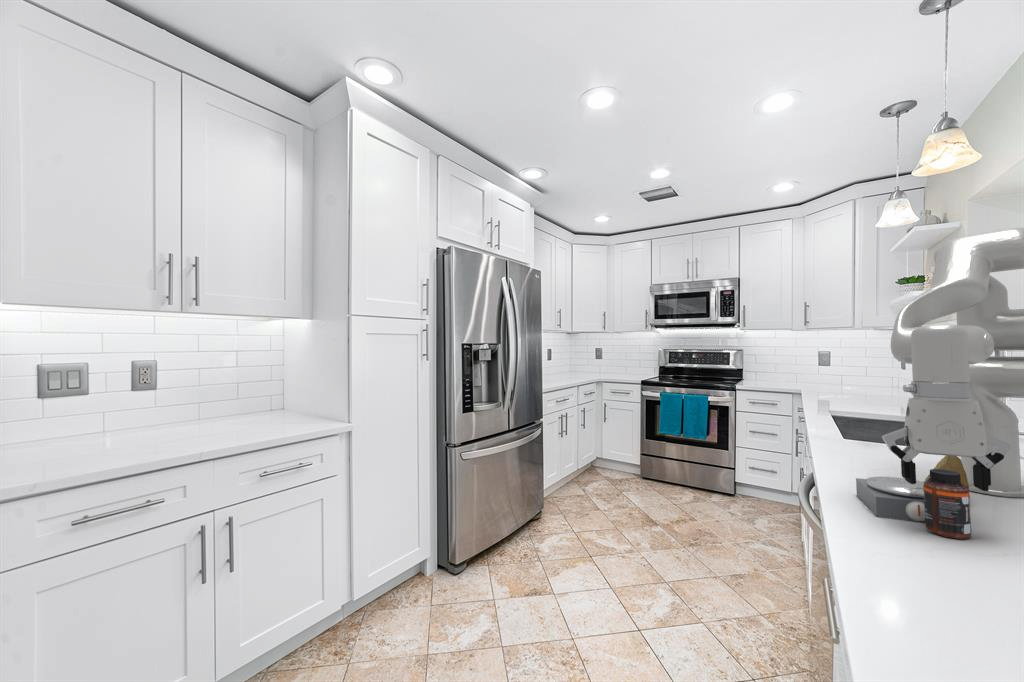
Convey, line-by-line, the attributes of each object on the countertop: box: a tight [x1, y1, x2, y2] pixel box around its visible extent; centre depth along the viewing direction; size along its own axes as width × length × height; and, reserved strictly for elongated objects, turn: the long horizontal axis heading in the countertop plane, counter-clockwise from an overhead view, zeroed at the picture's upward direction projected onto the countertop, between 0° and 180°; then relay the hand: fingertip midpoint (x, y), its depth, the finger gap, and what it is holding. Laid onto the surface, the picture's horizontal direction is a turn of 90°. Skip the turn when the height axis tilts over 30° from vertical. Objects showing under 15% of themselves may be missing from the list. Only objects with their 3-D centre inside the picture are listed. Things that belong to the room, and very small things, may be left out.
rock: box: [923, 455, 971, 500], centre depth 97 cm, size 11×9×10 cm
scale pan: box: [866, 476, 924, 498], centre depth 91 cm, size 12×12×1 cm
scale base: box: [855, 477, 925, 523], centre depth 90 cm, size 14×13×4 cm
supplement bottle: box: [923, 468, 972, 540], centre depth 79 cm, size 6×6×11 cm
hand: (944, 485), depth 78 cm, fingers open, 9 cm apart
